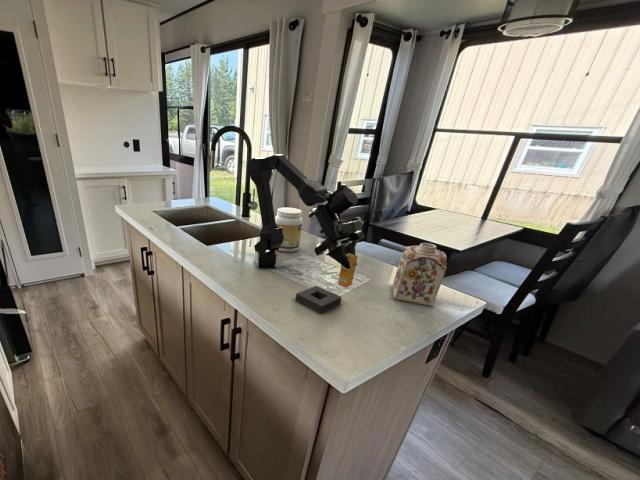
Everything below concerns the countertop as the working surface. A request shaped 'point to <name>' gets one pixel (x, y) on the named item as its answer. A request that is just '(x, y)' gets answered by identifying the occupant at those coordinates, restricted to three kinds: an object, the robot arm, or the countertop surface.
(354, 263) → the supplement box
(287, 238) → the supplement tub
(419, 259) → the decorative jar
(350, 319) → the countertop surface
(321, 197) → the robot arm
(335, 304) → the socket pad
